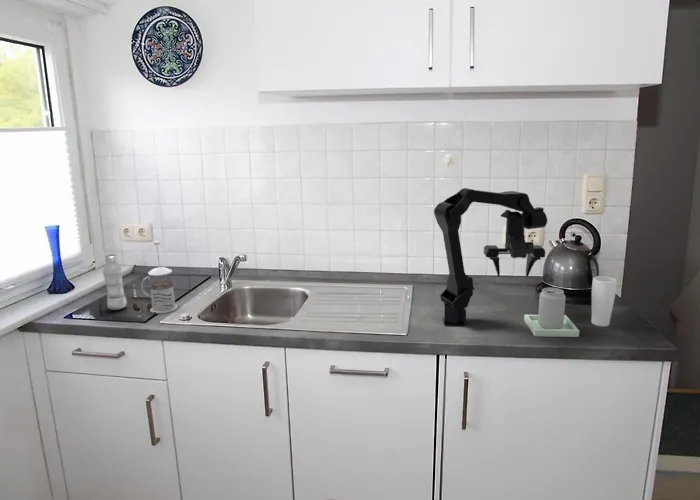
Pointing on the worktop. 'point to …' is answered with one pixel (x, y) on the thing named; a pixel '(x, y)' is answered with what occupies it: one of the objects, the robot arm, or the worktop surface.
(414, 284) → the worktop surface
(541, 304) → the can
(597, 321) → the drinking glass
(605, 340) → the worktop surface
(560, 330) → the tray
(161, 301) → the french press
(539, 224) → the robot arm
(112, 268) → the plastic bottle
